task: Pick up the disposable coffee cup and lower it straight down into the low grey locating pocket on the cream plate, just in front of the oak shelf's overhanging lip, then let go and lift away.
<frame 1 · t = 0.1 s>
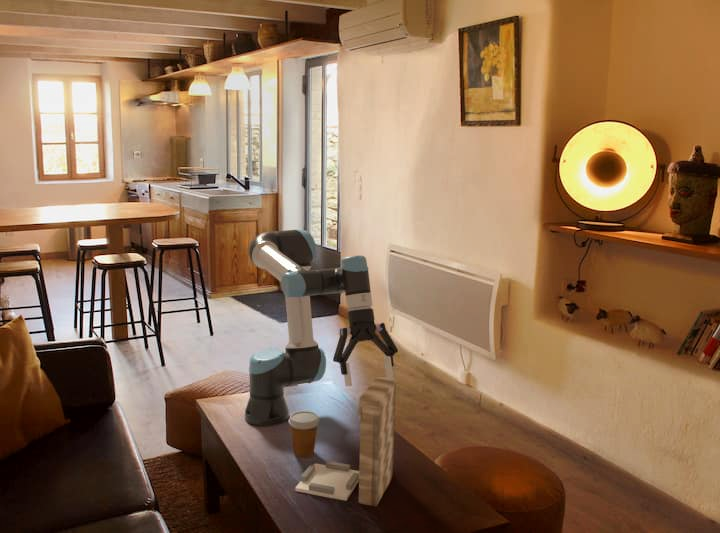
hand: (369, 382, 197), 28 cm above the table, tool tilted 20°, fingers open, 13 cm apart
seat plate: (329, 482, 196), on the table
disposable coffee cup: (303, 453, 213), on the table
overhang shelf: (376, 489, 193), on the table
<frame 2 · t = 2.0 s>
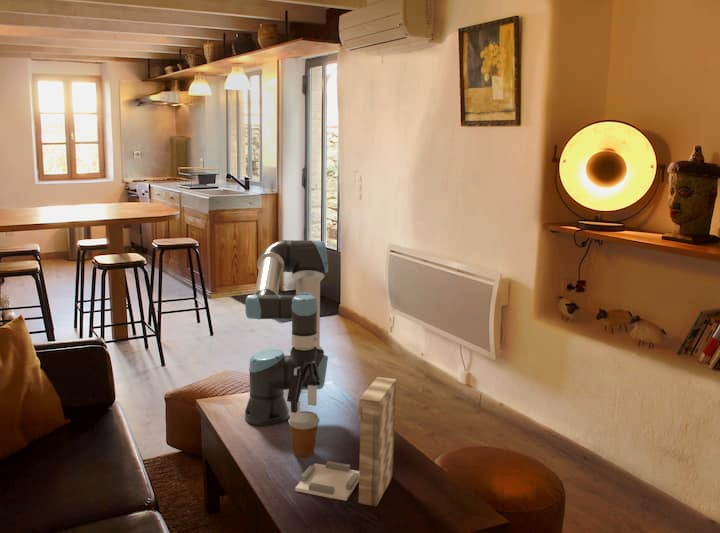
hand: (303, 413, 210), 13 cm above the table, tool pointing down, fingers open, 13 cm apart
nothing on the table moved.
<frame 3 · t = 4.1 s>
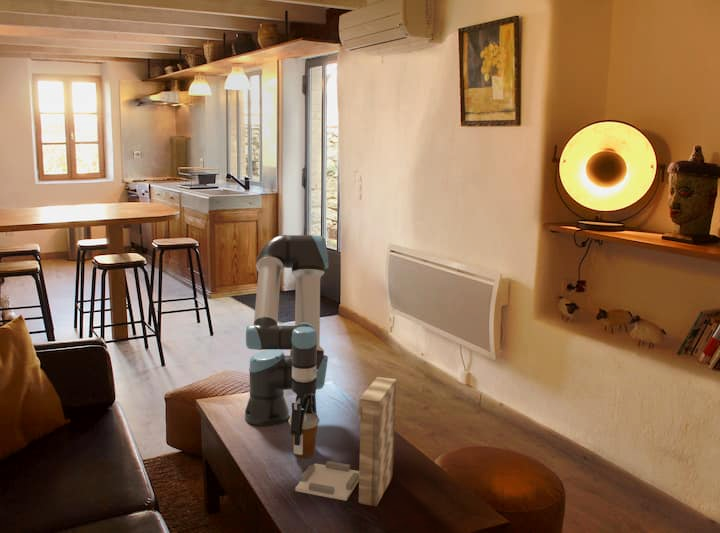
hand: (303, 447, 213), 2 cm above the table, tool pointing down, fingers closed on disposable coffee cup, 8 cm apart
disposable coffee cup: (303, 453, 213), on the table, touching gripper
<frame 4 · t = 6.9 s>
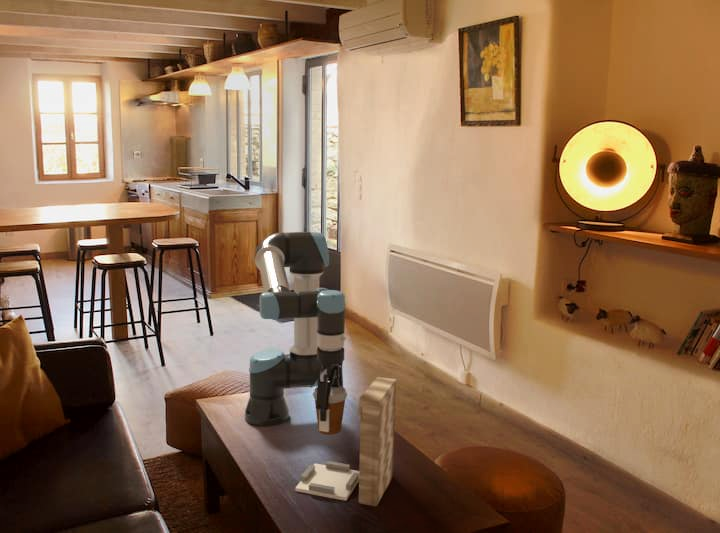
hand: (329, 424, 192), 18 cm above the table, tool pointing down, fingers closed on disposable coffee cup, 8 cm apart
disposable coffee cup: (329, 431, 193), point 16 cm above the table, touching gripper
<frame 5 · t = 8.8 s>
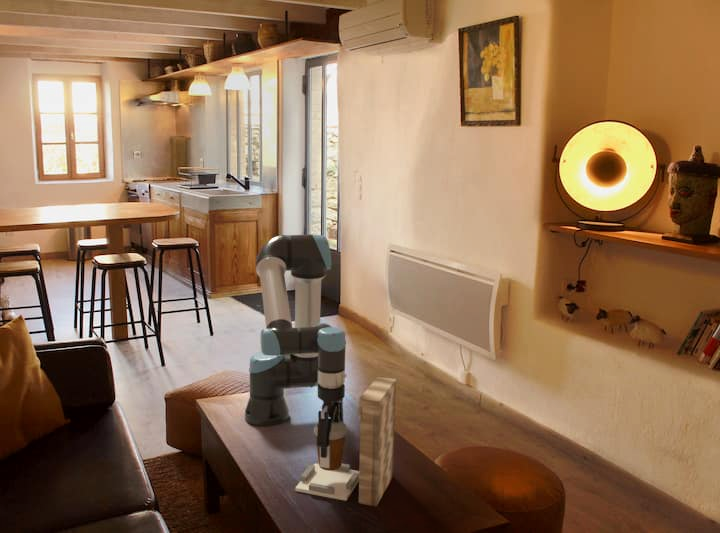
hand: (330, 459, 194), 7 cm above the table, tool pointing down, fingers closed on disposable coffee cup, 8 cm apart
disposable coffee cup: (330, 466, 195), point 5 cm above the table, touching gripper
when the fingers open (5 cm above the table, at t = 10.2 s): disposable coffee cup drops 2 cm, resting on seat plate.
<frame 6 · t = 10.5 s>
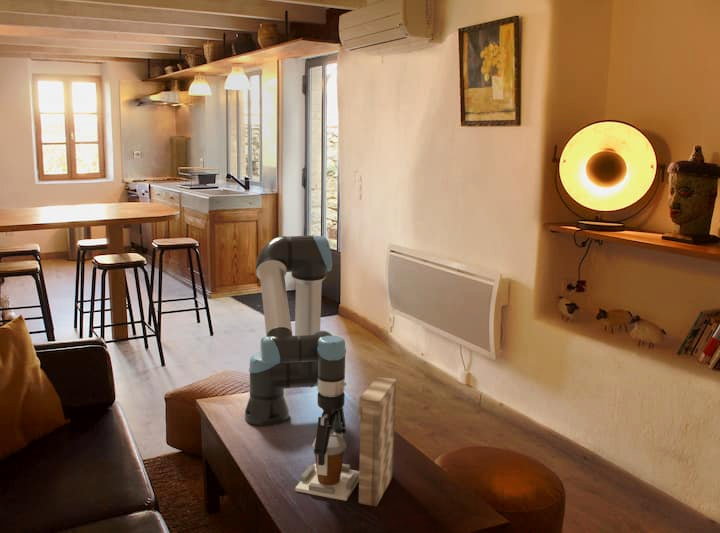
hand: (330, 464, 194), 6 cm above the table, tool pointing down, fingers open, 12 cm apart
disposable coffee cup: (328, 480, 195), point 1 cm above the table, touching seat plate
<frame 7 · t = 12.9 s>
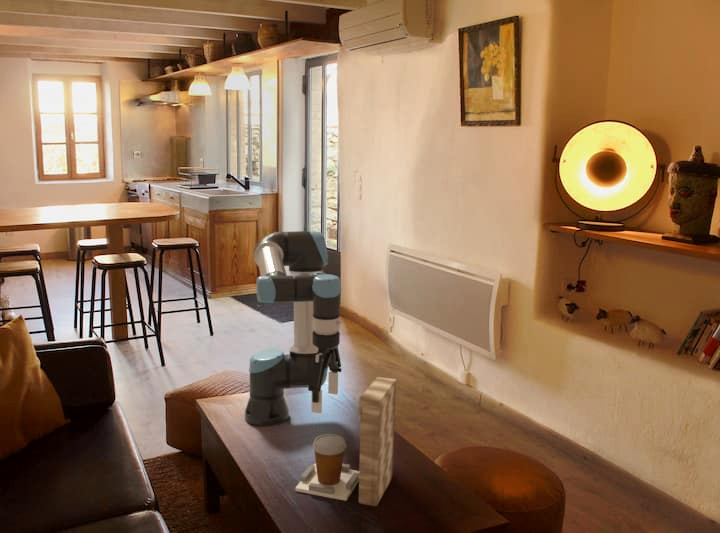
hand: (325, 402, 194), 23 cm above the table, tool pointing down, fingers open, 13 cm apart
nothing on the table moved.
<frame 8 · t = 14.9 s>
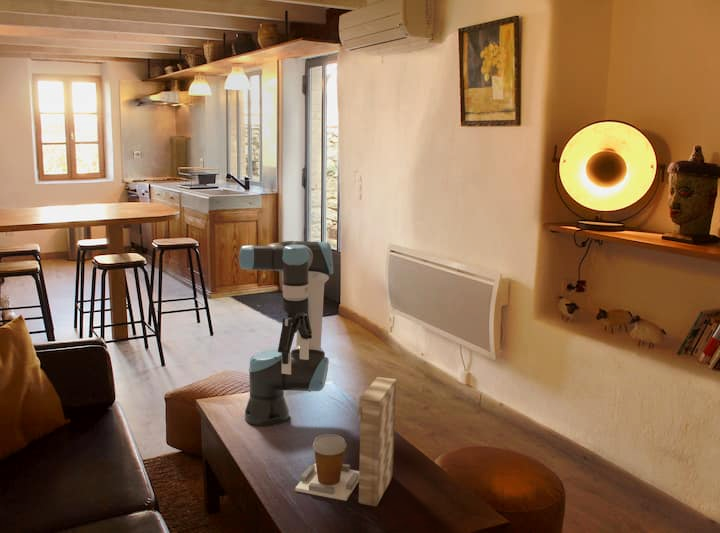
hand: (295, 366, 206), 29 cm above the table, tool pointing down, fingers open, 13 cm apart
nothing on the table moved.
at the end: disposable coffee cup 0.4 cm off-centre on the seat plate, point 0.8 cm above the seat plate's base; disposable coffee cup tilted 0°; the gripper is holding nothing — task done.
